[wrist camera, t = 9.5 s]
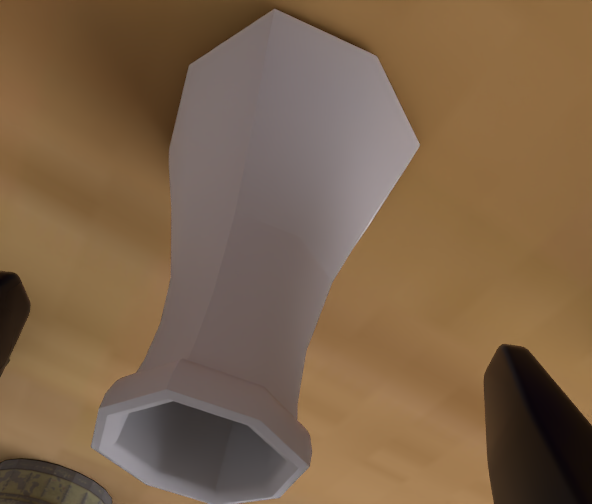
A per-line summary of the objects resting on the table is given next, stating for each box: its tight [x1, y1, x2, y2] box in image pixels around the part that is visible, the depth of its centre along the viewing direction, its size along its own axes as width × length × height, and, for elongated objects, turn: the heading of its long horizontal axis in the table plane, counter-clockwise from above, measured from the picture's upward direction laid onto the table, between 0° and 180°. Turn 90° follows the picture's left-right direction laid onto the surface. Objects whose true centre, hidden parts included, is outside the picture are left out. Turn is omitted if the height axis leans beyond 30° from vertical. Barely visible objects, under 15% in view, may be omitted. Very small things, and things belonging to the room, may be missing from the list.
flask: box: [91, 9, 420, 504], centre depth 11 cm, size 7×7×10 cm
